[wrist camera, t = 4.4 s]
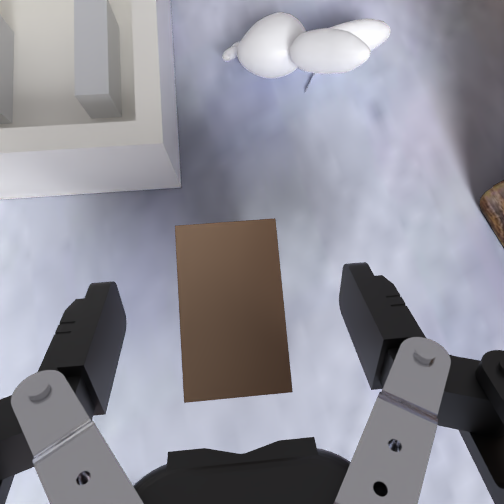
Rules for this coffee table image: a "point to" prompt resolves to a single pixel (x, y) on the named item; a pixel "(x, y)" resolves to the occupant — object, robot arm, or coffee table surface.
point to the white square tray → (87, 97)
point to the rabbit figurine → (306, 46)
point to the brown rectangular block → (231, 310)
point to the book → (494, 209)
